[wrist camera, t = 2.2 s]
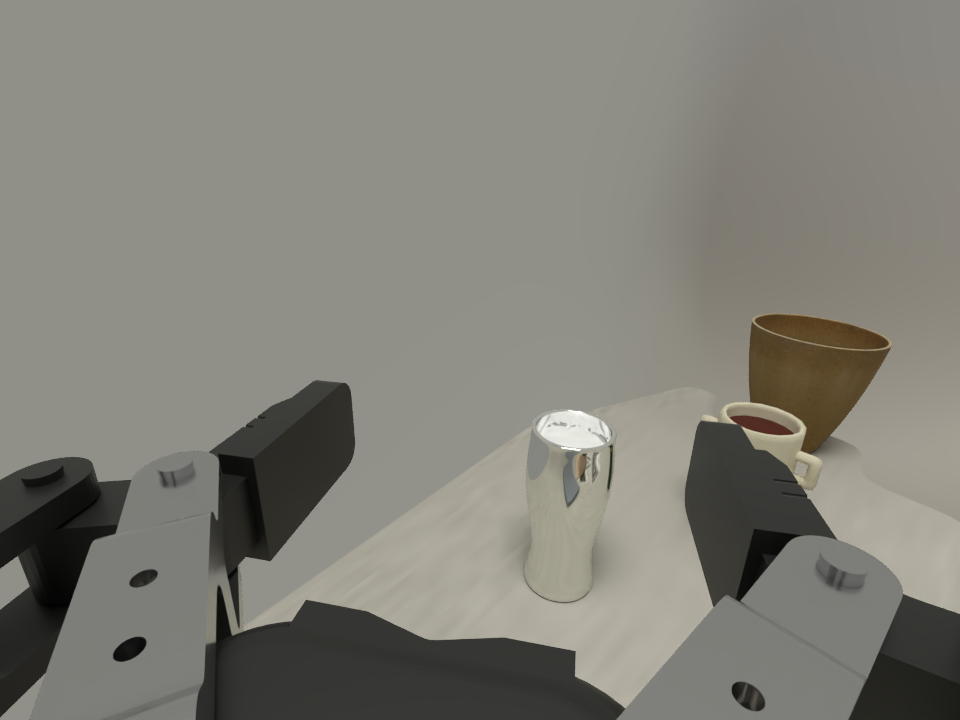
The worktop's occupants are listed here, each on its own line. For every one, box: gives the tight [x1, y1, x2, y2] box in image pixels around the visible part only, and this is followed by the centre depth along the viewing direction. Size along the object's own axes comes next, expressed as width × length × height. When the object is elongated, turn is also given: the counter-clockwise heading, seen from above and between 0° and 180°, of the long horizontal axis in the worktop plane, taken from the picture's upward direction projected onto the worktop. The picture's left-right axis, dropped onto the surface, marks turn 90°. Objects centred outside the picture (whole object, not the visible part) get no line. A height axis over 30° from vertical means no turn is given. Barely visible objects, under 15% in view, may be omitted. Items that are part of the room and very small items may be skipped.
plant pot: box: [749, 314, 892, 453], centre depth 65 cm, size 15×15×16 cm
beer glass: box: [524, 409, 617, 602], centre depth 42 cm, size 7×7×15 cm
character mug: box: [700, 402, 822, 490], centre depth 48 cm, size 11×7×13 cm, turn 40°
